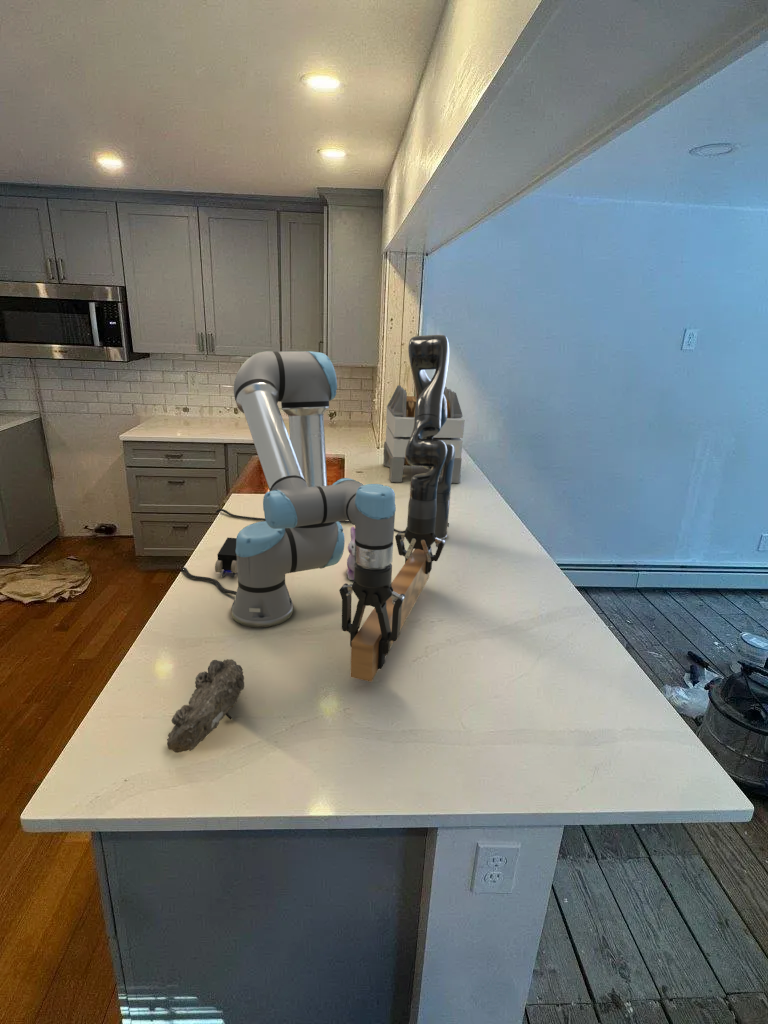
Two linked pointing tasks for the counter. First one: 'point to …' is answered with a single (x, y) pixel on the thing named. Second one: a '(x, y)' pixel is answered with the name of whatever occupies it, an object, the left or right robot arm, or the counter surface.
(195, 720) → the fossil
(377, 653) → the post
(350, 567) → the figurine
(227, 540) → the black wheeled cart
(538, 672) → the counter surface
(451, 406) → the grey stacking crate
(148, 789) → the counter surface
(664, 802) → the counter surface
